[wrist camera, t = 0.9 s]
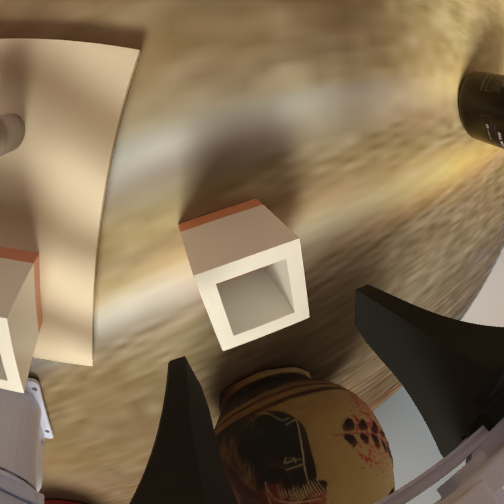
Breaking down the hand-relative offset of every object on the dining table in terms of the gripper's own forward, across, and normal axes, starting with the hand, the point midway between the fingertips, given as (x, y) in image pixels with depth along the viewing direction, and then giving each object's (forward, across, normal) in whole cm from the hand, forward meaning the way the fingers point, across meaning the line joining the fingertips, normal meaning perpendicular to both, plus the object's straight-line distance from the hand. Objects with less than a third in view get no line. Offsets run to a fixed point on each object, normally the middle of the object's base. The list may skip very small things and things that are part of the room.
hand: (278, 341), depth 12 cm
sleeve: (+9, 0, 0) cm, 9 cm away
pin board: (+9, +12, -6) cm, 16 cm away
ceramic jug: (+10, -1, +18) cm, 20 cm away
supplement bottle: (+10, -26, -6) cm, 28 cm away
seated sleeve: (+8, +14, -3) cm, 16 cm away
